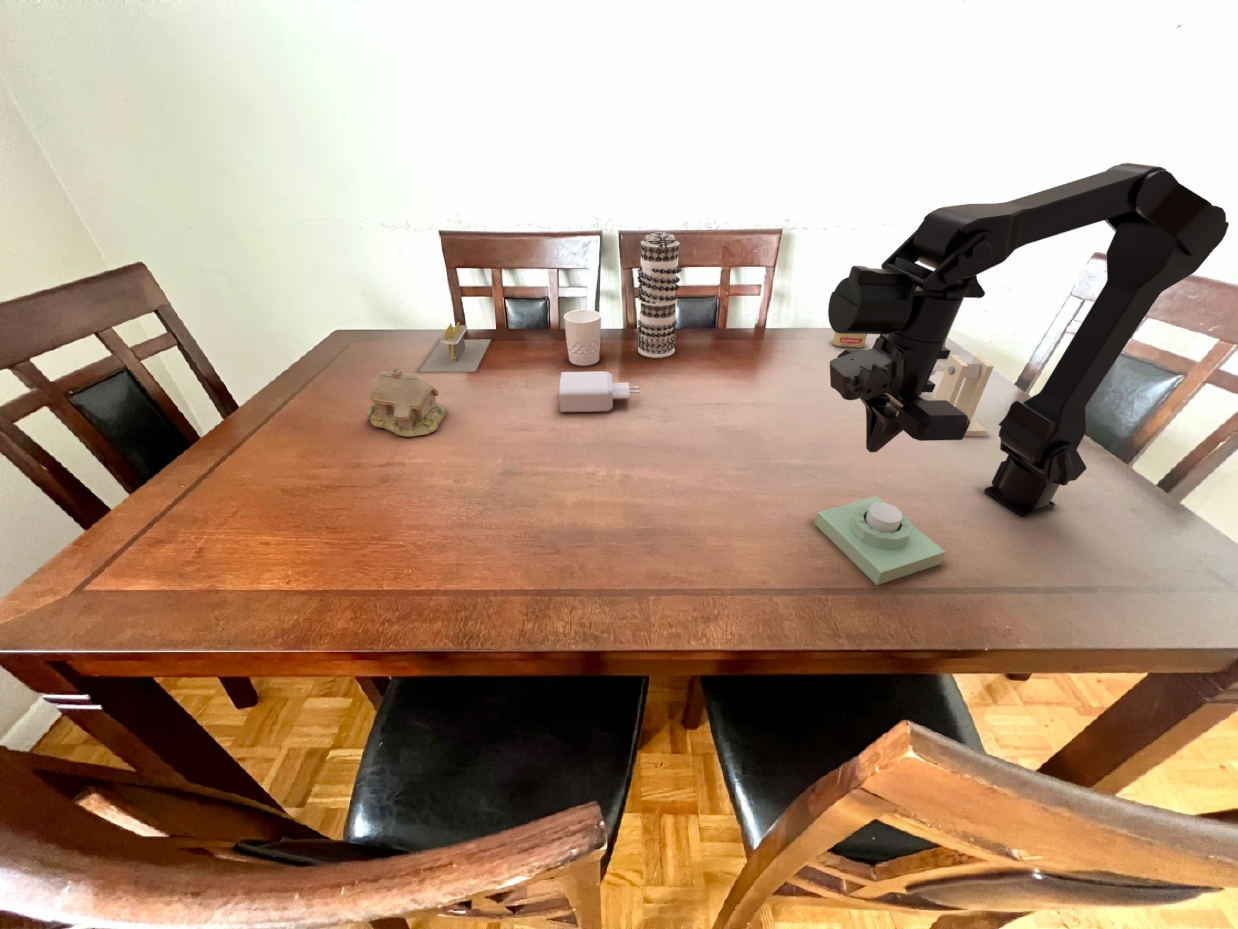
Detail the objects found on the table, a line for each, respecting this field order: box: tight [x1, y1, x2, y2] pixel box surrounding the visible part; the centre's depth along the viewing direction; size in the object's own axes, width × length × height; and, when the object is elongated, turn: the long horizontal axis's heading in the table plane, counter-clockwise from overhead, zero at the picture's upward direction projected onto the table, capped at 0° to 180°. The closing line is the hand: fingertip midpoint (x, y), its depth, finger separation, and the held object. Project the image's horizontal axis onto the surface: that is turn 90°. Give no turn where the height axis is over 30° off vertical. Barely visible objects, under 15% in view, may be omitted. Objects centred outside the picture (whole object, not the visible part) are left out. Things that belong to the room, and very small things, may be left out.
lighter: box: [831, 331, 868, 349], centre depth 124 cm, size 7×4×10 cm, turn 81°
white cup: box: [563, 309, 602, 367], centre depth 118 cm, size 8×8×10 cm
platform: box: [418, 322, 492, 373], centre depth 121 cm, size 12×18×7 cm, turn 0°
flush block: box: [814, 495, 946, 586], centre depth 71 cm, size 12×10×4 cm
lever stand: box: [933, 354, 994, 437], centre depth 94 cm, size 10×8×12 cm
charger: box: [558, 370, 641, 413], centre depth 103 cm, size 5×9×15 cm
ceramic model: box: [367, 368, 446, 438], centre depth 96 cm, size 14×11×10 cm
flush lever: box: [930, 362, 980, 379], centre depth 98 cm, size 16×3×3 cm, turn 177°
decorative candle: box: [637, 231, 682, 359], centre depth 118 cm, size 9×9×25 cm
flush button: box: [865, 502, 903, 533], centre depth 69 cm, size 4×4×2 cm
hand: (871, 450), depth 69 cm, fingers closed
